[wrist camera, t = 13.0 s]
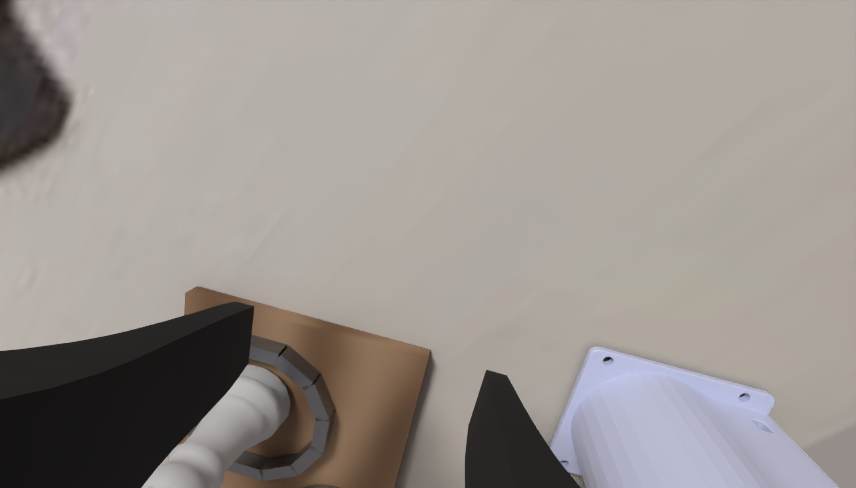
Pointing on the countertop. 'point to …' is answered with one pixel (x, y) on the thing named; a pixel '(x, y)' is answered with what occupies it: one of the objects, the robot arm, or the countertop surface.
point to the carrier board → (335, 397)
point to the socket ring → (317, 400)
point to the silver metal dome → (320, 486)
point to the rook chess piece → (226, 432)
